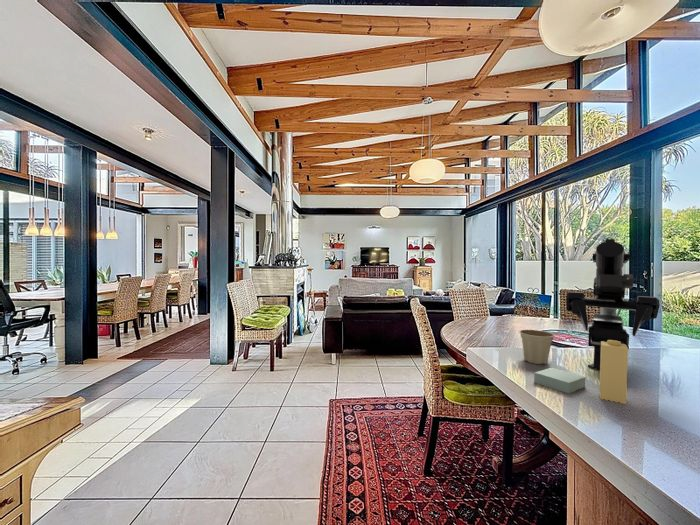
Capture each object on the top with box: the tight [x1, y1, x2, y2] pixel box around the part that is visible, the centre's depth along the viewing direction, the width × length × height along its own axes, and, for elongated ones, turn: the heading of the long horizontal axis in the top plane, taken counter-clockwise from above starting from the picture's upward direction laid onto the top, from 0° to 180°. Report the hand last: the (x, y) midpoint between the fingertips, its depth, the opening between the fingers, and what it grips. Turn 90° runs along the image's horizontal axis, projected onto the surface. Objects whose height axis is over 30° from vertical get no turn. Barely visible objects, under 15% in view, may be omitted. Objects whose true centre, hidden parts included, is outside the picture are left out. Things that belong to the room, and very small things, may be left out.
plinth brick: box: [533, 367, 586, 395], centre depth 85 cm, size 8×8×2 cm
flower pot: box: [518, 329, 556, 365], centre depth 104 cm, size 9×9×9 cm
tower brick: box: [598, 340, 629, 405], centre depth 77 cm, size 4×4×13 cm
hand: (609, 332), depth 84 cm, fingers open, 9 cm apart
